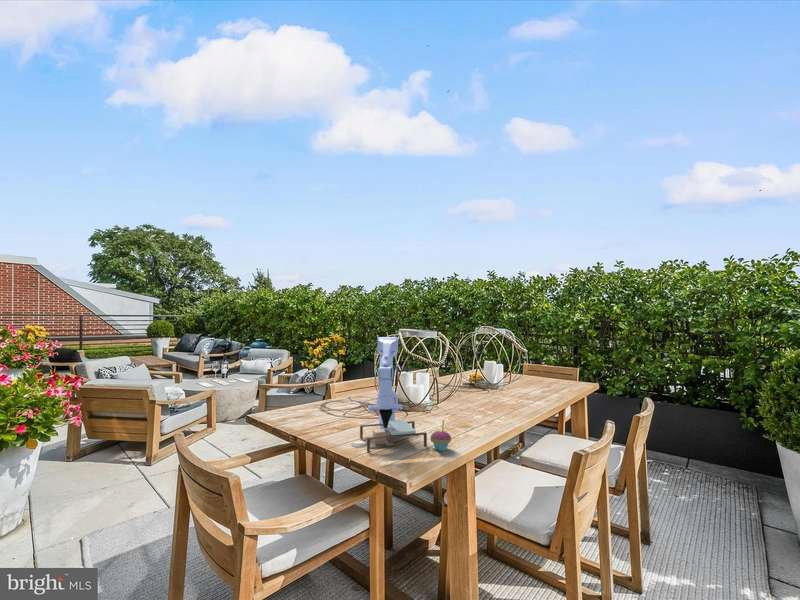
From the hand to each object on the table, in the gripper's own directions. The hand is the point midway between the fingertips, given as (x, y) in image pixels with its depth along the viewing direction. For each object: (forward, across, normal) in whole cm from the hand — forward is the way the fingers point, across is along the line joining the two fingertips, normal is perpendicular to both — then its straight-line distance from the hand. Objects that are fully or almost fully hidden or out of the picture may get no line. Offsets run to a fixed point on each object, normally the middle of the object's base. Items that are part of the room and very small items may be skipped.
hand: (385, 427), depth 165 cm
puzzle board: (+7, 0, 0) cm, 7 cm away
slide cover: (+1, +6, 0) cm, 6 cm away
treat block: (+6, -3, 0) cm, 7 cm away
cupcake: (+8, +21, -11) cm, 25 cm away
